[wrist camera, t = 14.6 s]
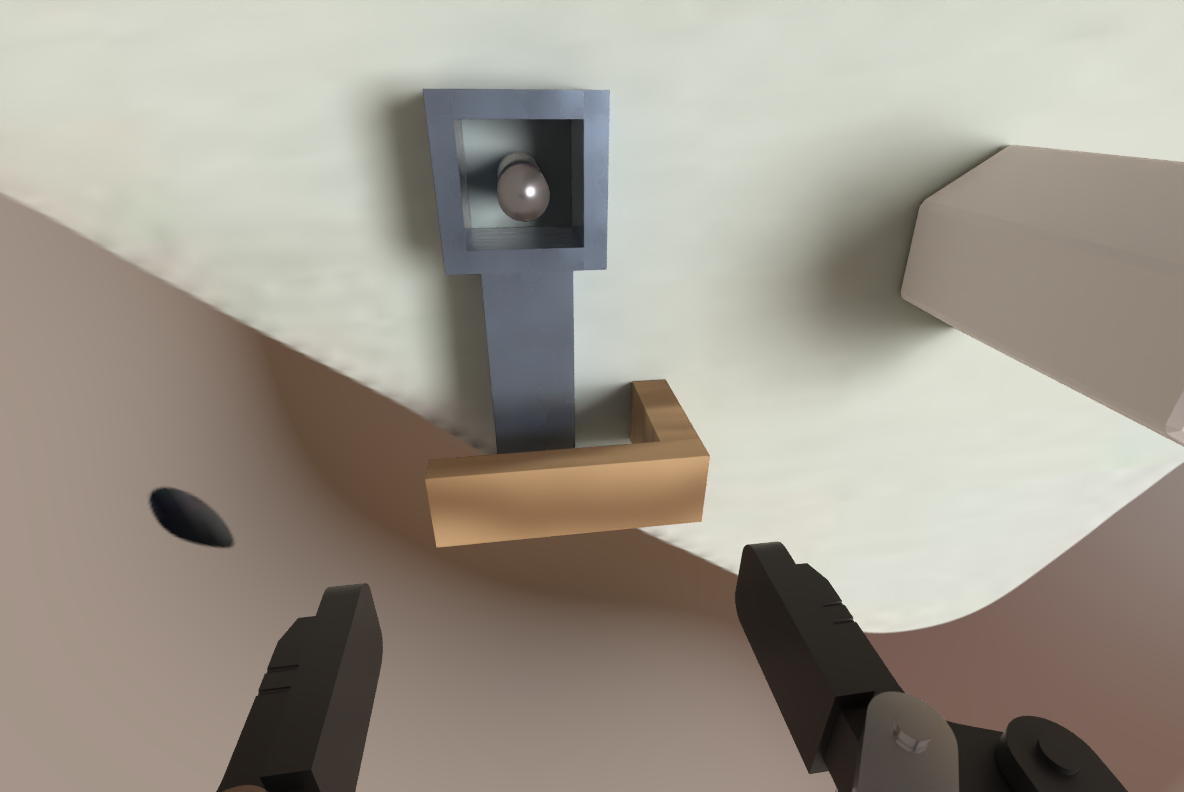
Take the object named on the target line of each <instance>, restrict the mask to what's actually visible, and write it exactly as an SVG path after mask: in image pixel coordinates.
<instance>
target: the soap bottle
mask: <svg viewBox="0 0 1184 792" xmlns="http://www.w3.org/2000/svg"><path fill="white" fill-rule="evenodd" d="M901 296H902V298H903V299H904V300H906V301H907V302H909V303H911V304H913V305H915V306H916V307H918V308H920V309H922V310H923V311H925V312H927V313H929V314H931V315H932V316H934V317H936V318H938V319H940V320H941V321H943V322H945V323H947V324H948V325H950V326H952V327H954V328H956V329H957V330H959V331H961V332H963V333H965V334H967V335H969V336H971V337H973V338H975V339H977V340H979V341H981V342H982V343H984V344H986V345H988V346H990V347H992V348H994V349H996V350H998V351H1000V352H1002V353H1004V354H1006V355H1008V356H1010V357H1012V358H1013V359H1015V360H1017V361H1019V362H1021V363H1023V364H1025V365H1027V366H1029V367H1031V368H1033V369H1035V370H1037V371H1039V372H1041V373H1042V374H1044V375H1046V376H1048V377H1050V378H1052V379H1054V380H1056V381H1058V382H1060V383H1062V384H1064V385H1066V386H1068V387H1070V388H1071V389H1073V390H1075V391H1077V392H1079V393H1081V394H1083V395H1085V396H1087V397H1089V398H1091V399H1093V400H1095V401H1097V402H1099V403H1100V404H1102V405H1104V406H1106V407H1108V408H1110V409H1112V410H1114V411H1116V412H1118V413H1120V414H1122V415H1124V416H1126V417H1128V418H1129V419H1131V420H1133V421H1135V422H1137V423H1139V424H1141V425H1143V426H1145V427H1147V428H1149V429H1151V430H1153V431H1155V432H1157V433H1159V434H1160V435H1162V436H1164V437H1166V438H1168V439H1170V440H1172V441H1174V442H1176V443H1178V444H1180V445H1182V446H1184V162H1178V161H1168V160H1158V159H1148V158H1138V157H1128V156H1119V155H1109V154H1099V153H1089V152H1079V151H1069V150H1060V149H1050V148H1040V147H1030V146H1020V145H1012V146H1007V147H1006V148H1004V149H1003V150H1001V151H1000V152H998V153H997V154H995V155H994V156H992V157H990V158H989V159H987V160H986V161H984V162H983V163H981V164H980V165H978V166H976V167H975V168H973V169H972V170H970V171H969V172H967V173H966V174H964V175H962V176H961V177H959V178H958V179H956V180H955V181H953V182H952V183H950V184H948V185H947V186H945V187H944V188H942V189H941V190H939V191H938V192H936V193H935V194H933V195H931V196H930V197H928V198H927V199H925V200H924V201H923V203H922V204H921V205H920V207H919V211H918V216H917V220H916V225H915V229H914V234H913V238H912V243H911V247H910V252H909V256H908V261H907V265H906V270H905V274H904V279H903V283H902V288H901Z"/></svg>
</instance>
